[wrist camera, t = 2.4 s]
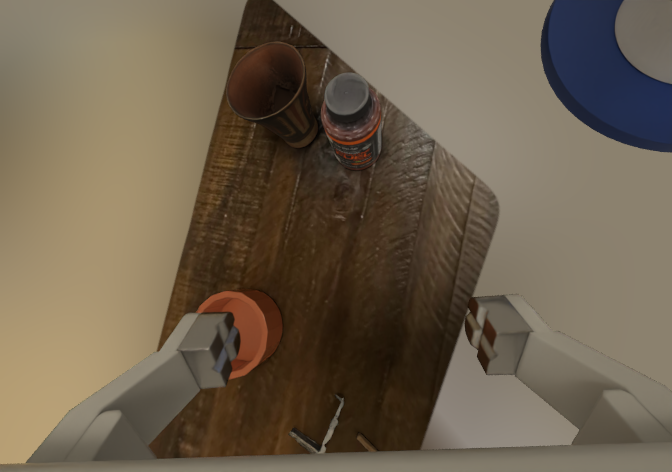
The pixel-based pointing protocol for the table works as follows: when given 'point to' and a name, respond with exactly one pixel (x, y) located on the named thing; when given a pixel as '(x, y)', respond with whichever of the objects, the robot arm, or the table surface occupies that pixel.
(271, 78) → the cup
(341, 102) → the supplement bottle
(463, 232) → the table surface
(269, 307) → the holder
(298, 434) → the l-shaped bracket
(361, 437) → the stick
